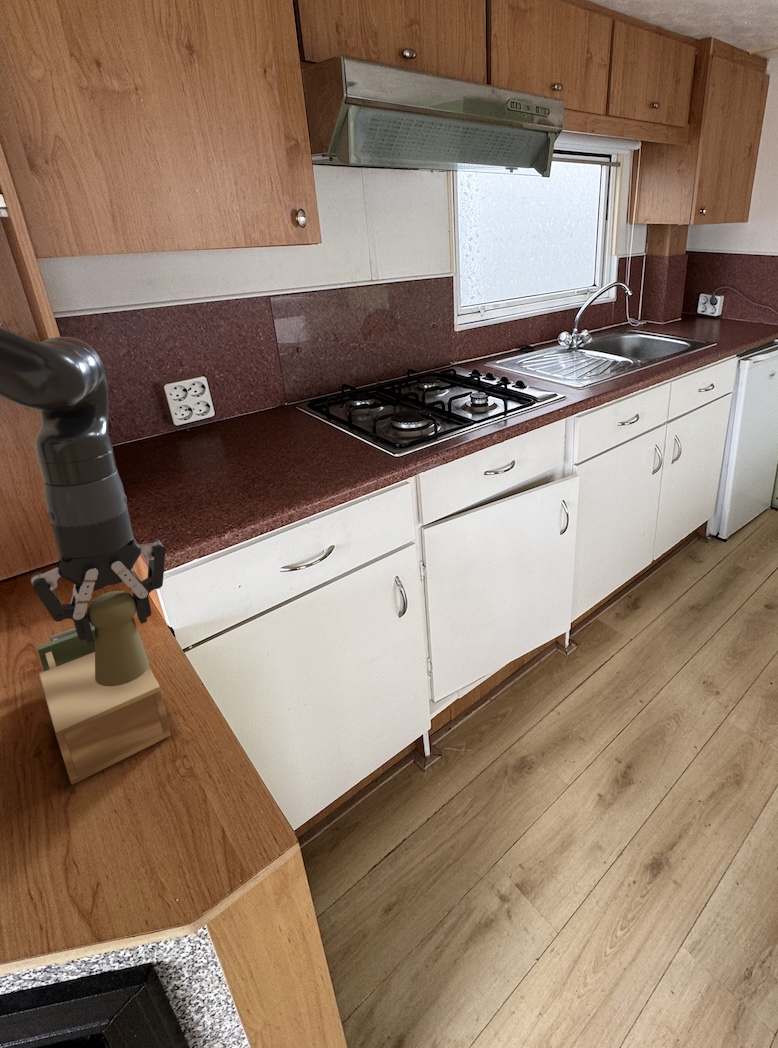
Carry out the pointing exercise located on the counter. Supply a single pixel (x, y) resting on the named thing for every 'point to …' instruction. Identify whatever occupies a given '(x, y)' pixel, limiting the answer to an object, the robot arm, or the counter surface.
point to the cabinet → (101, 716)
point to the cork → (116, 639)
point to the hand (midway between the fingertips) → (116, 628)
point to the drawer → (64, 648)
